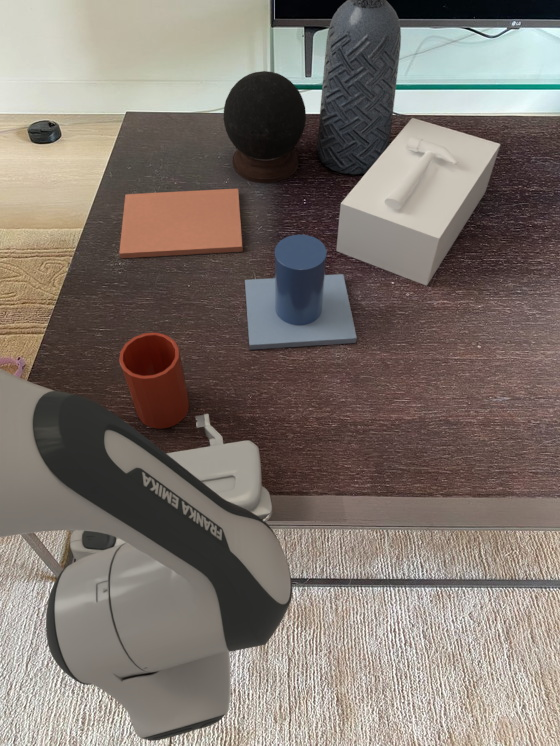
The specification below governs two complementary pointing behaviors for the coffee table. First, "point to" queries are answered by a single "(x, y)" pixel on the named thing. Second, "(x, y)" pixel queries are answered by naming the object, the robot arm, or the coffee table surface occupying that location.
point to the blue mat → (279, 334)
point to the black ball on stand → (264, 126)
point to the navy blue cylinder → (299, 279)
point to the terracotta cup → (155, 379)
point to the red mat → (181, 223)
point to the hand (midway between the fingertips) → (159, 424)
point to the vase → (358, 85)
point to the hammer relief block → (416, 199)
